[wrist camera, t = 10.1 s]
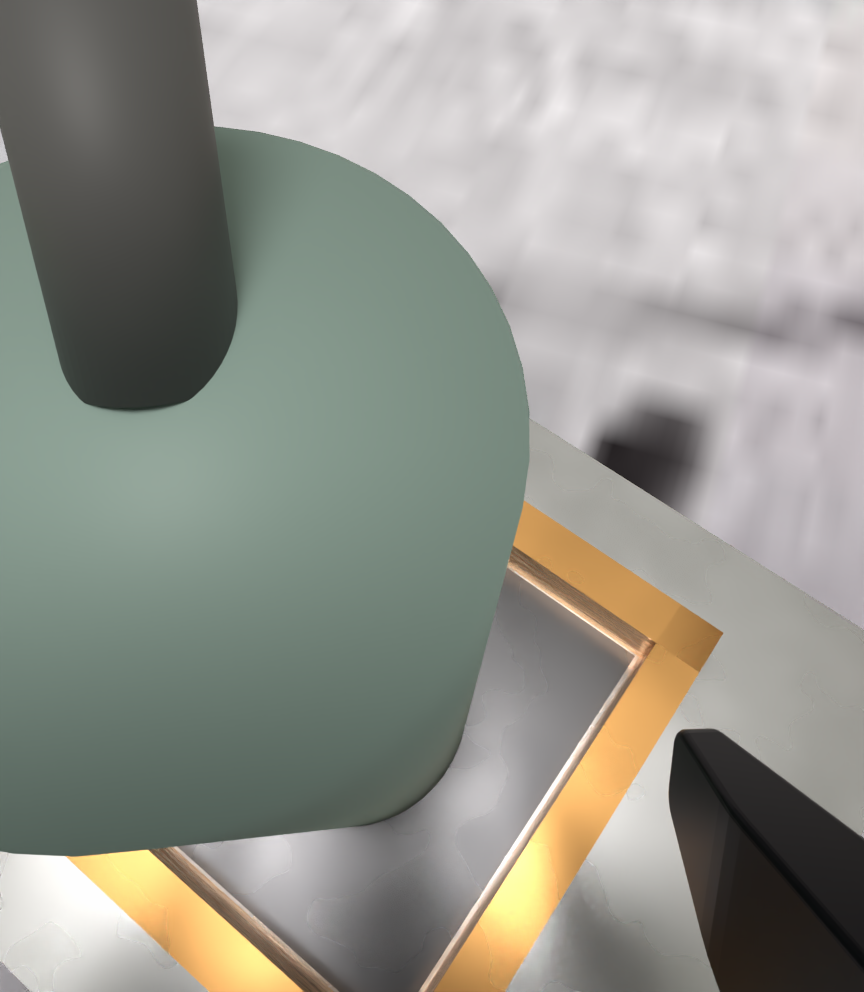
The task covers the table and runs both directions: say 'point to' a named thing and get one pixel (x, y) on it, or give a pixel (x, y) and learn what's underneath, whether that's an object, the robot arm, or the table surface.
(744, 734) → the grey flat block
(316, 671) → the spout can
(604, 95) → the table surface
